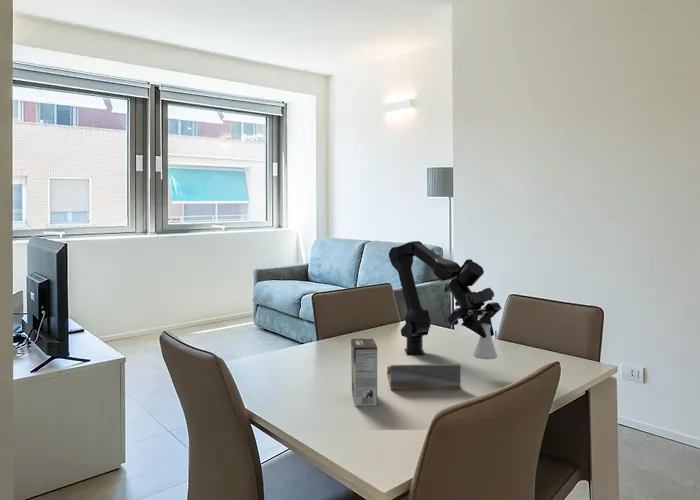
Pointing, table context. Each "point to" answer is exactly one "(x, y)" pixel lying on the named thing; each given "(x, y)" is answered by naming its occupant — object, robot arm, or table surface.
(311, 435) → the table surface
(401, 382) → the chalkboard eraser
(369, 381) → the coffee box
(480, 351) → the flask
